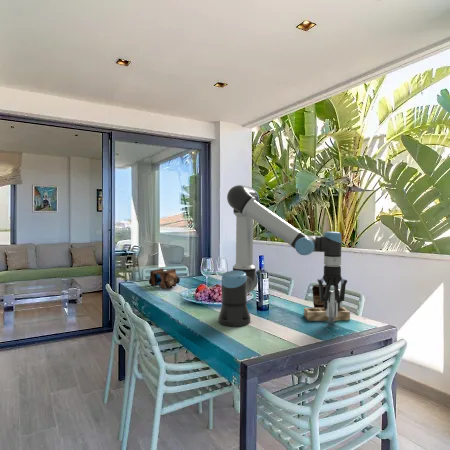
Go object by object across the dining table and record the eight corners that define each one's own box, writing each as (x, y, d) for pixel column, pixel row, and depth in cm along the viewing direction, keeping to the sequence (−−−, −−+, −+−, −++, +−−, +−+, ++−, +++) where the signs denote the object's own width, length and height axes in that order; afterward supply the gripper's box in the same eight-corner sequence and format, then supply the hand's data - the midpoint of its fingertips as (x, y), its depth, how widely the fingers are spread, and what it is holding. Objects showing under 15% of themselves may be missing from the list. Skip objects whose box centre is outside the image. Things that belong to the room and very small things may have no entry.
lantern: (155, 293, 251) (178, 296, 235) (142, 278, 243) (165, 281, 227) (167, 276, 260) (191, 278, 244) (155, 261, 252) (178, 262, 236)
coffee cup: (329, 312, 177) (329, 287, 177) (312, 311, 179) (312, 286, 178) (327, 308, 186) (327, 283, 185) (311, 307, 187) (311, 283, 187)
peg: (329, 322, 158) (329, 292, 157) (326, 320, 161) (327, 290, 160) (336, 322, 158) (336, 292, 157) (333, 320, 161) (334, 290, 160)
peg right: (336, 318, 167) (336, 289, 166) (334, 316, 170) (334, 288, 169) (343, 318, 167) (343, 289, 166) (340, 316, 170) (340, 288, 169)
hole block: (308, 320, 164) (308, 312, 164) (304, 315, 172) (304, 307, 172) (350, 320, 164) (350, 311, 164) (344, 315, 172) (344, 307, 172)
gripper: (317, 266, 154) (316, 318, 155) (353, 266, 155) (352, 318, 156) (312, 264, 162) (311, 313, 163) (347, 264, 162) (346, 313, 163)
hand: (331, 315), depth 159 cm, fingers closed on peg, 3 cm apart
